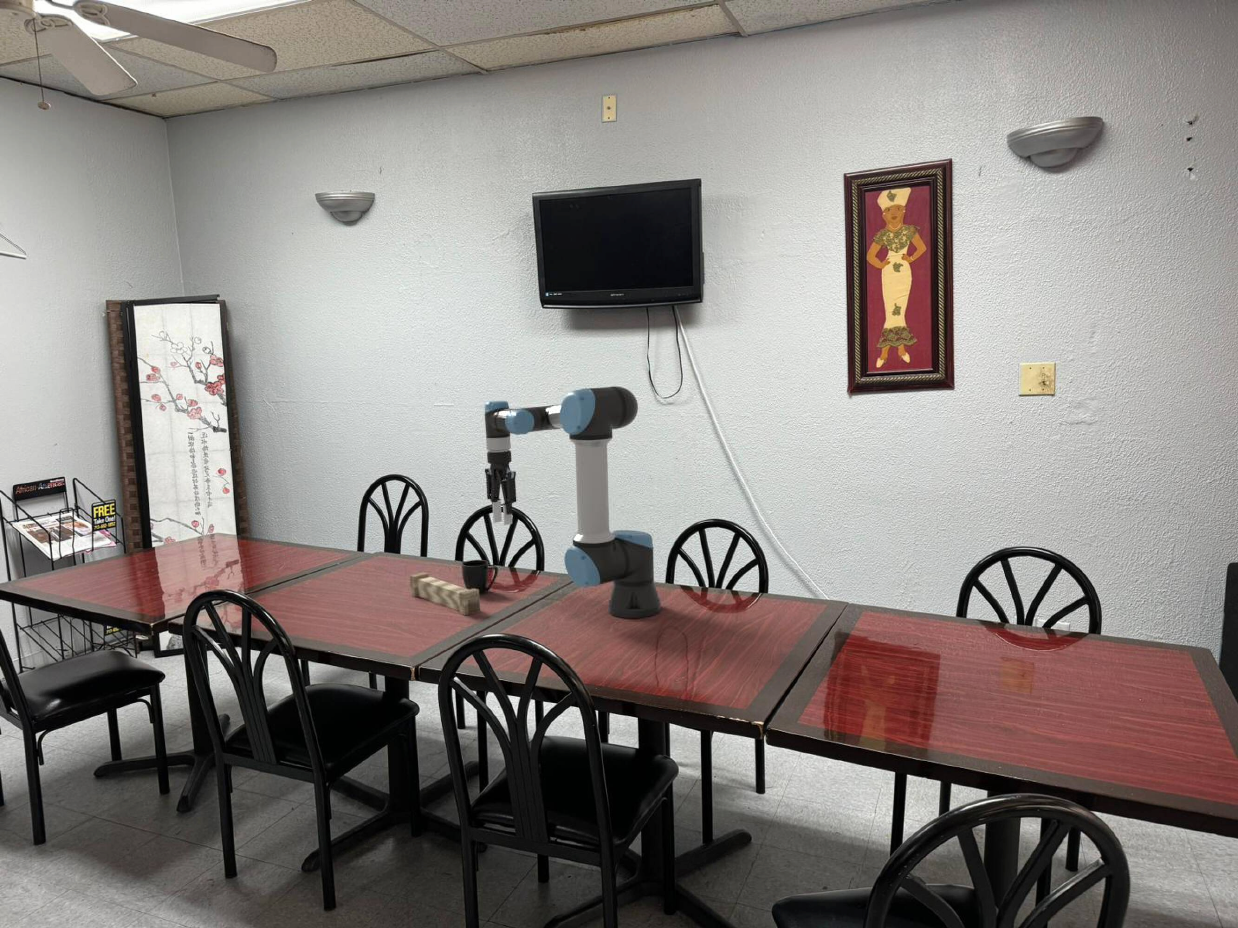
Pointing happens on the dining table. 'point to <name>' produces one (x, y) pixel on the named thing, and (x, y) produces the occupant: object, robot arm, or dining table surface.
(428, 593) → the batten
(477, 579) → the mug
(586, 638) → the dining table surface
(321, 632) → the dining table surface
